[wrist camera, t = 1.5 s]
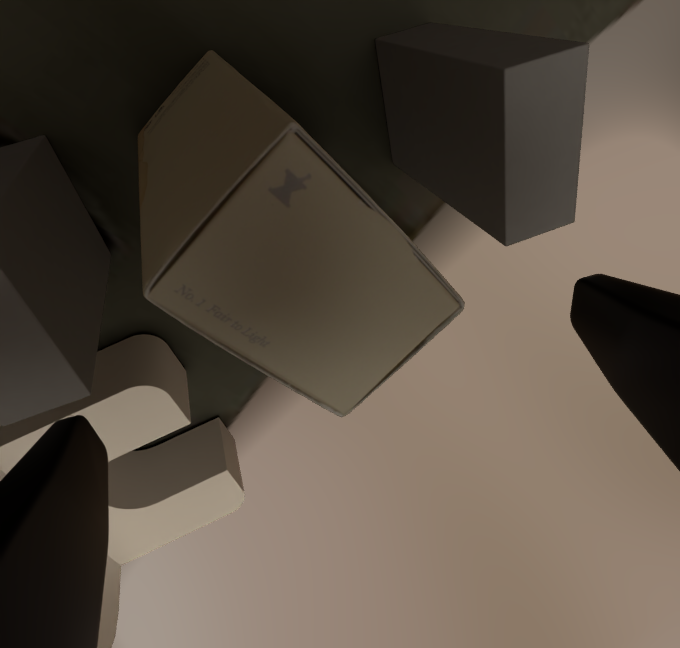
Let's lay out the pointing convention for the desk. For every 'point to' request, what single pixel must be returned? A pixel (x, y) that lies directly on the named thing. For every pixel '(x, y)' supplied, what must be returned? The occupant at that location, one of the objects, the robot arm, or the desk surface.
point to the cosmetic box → (277, 245)
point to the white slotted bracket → (143, 457)
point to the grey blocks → (407, 154)
